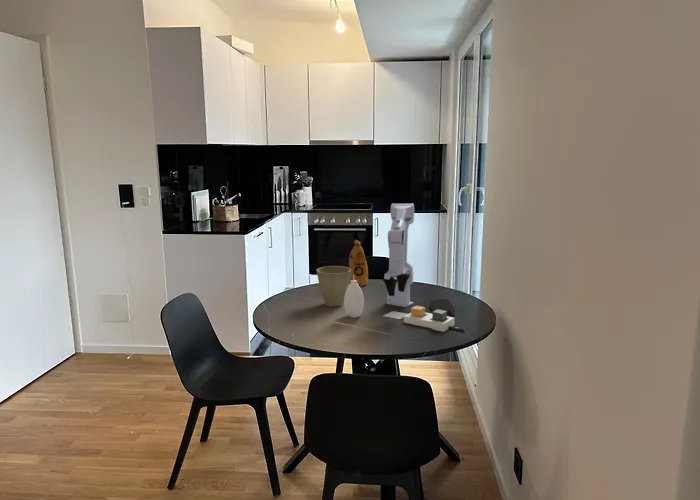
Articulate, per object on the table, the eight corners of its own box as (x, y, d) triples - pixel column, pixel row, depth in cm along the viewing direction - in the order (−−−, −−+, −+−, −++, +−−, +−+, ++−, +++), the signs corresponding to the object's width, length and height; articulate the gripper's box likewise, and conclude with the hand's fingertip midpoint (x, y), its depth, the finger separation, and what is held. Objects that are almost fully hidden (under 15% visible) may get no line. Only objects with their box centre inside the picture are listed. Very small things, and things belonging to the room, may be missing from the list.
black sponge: (455, 318, 206) (455, 309, 205) (434, 318, 206) (434, 309, 205) (448, 306, 222) (448, 298, 221) (428, 307, 222) (428, 298, 221)
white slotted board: (403, 323, 199) (403, 316, 199) (415, 317, 206) (415, 310, 206) (458, 334, 186) (459, 326, 185) (469, 328, 193) (469, 320, 192)
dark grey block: (432, 327, 195) (432, 311, 194) (437, 324, 198) (437, 309, 197) (441, 329, 192) (442, 313, 191) (446, 326, 195) (446, 311, 194)
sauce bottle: (354, 313, 213) (353, 271, 210) (367, 317, 208) (367, 273, 204) (340, 317, 208) (339, 274, 205) (354, 321, 202) (353, 277, 199)
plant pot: (311, 307, 222) (310, 271, 219) (326, 299, 236) (325, 265, 233) (343, 311, 217) (343, 274, 214) (356, 301, 230) (356, 267, 227)
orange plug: (410, 322, 200) (411, 308, 199) (416, 320, 203) (416, 305, 202) (420, 324, 198) (420, 309, 197) (425, 322, 201) (425, 307, 200)
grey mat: (382, 316, 208) (382, 315, 208) (392, 312, 214) (392, 310, 214) (399, 320, 203) (399, 319, 203) (409, 315, 209) (409, 314, 209)
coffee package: (349, 286, 258) (348, 243, 254) (348, 281, 270) (347, 239, 266) (368, 286, 258) (368, 243, 254) (367, 280, 270) (367, 239, 266)
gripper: (395, 264, 193) (395, 299, 195) (414, 257, 204) (414, 291, 207) (379, 262, 197) (379, 296, 199) (399, 256, 208) (399, 288, 211)
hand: (396, 293), depth 203 cm, fingers open, 7 cm apart
